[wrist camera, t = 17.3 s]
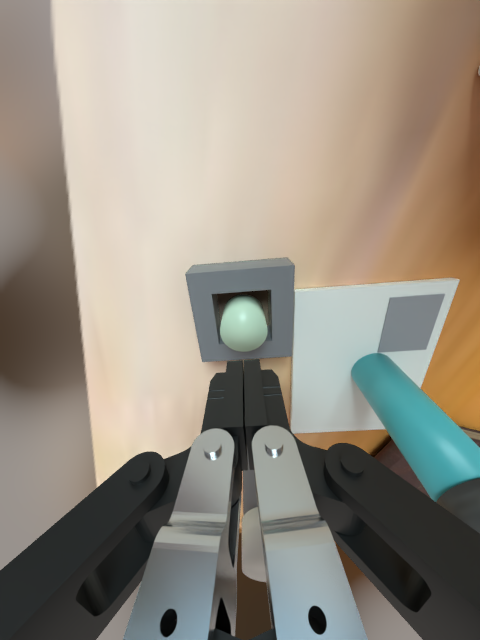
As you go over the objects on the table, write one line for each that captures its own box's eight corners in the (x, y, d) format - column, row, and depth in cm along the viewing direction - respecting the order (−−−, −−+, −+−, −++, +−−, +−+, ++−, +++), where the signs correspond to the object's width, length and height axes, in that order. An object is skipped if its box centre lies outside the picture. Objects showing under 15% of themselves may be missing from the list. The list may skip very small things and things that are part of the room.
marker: (353, 353, 19) (493, 534, 9) (398, 350, 19) (599, 532, 8) (347, 386, 21) (458, 573, 10) (388, 384, 21) (546, 572, 10)
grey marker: (240, 383, 22) (238, 554, 11) (279, 380, 21) (318, 552, 11) (243, 410, 23) (244, 583, 13) (279, 409, 23) (312, 581, 12)
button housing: (192, 265, 17) (185, 273, 14) (287, 257, 16) (294, 264, 14) (206, 344, 20) (202, 362, 17) (286, 339, 19) (292, 356, 17)
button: (221, 295, 16) (216, 312, 13) (262, 292, 16) (266, 308, 13) (225, 332, 17) (222, 353, 15) (264, 329, 17) (268, 350, 15)
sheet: (293, 289, 17) (295, 292, 17) (452, 277, 17) (461, 280, 16) (289, 428, 24) (291, 434, 24) (402, 423, 24) (406, 428, 23)
